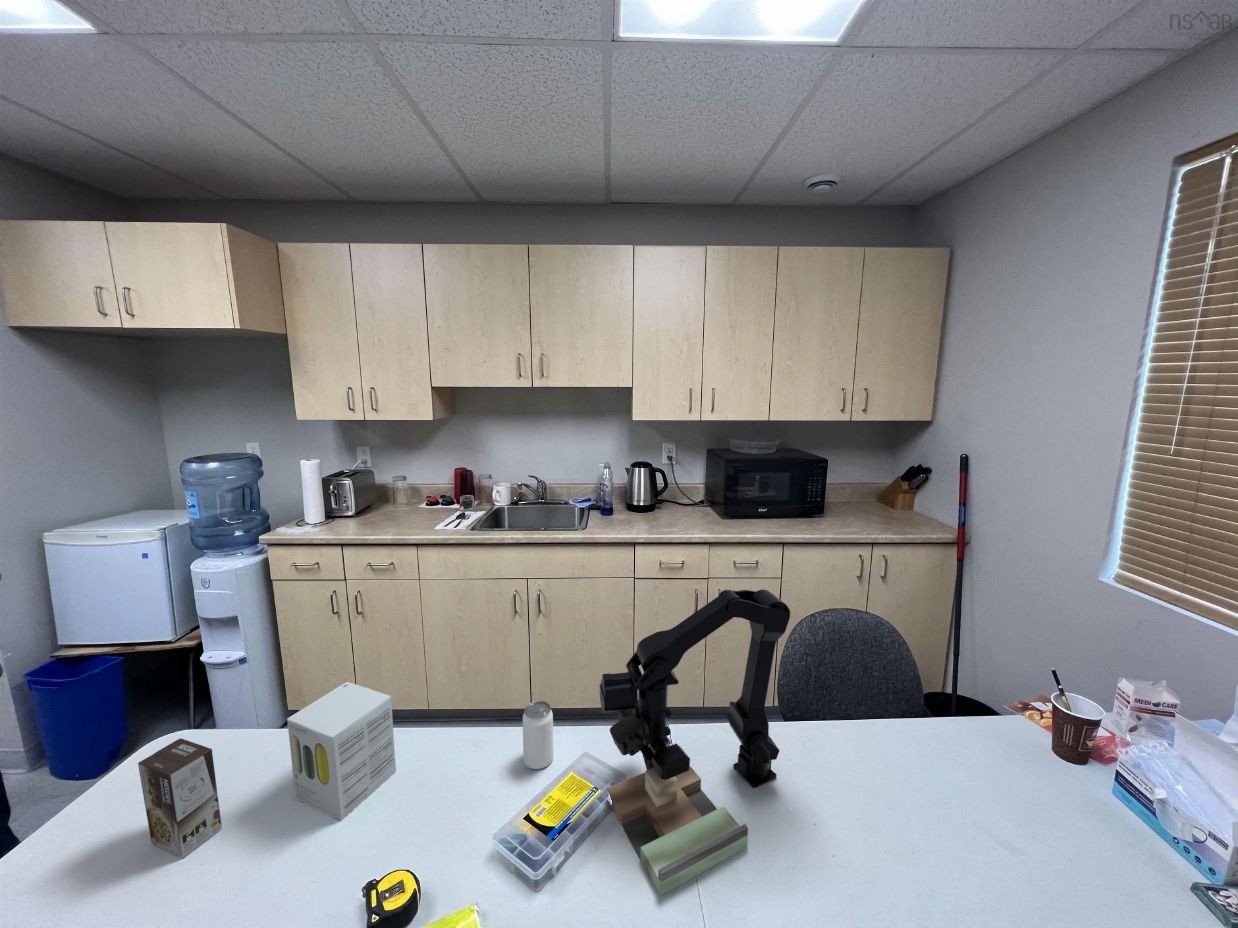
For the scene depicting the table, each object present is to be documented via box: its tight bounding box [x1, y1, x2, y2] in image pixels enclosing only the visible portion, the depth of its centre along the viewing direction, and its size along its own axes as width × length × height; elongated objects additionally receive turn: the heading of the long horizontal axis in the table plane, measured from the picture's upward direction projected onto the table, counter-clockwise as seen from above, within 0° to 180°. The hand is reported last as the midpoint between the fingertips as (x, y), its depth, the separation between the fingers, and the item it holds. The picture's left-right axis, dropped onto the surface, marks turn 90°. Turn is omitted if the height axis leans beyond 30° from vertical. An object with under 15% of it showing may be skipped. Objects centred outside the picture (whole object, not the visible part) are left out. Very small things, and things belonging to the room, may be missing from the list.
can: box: [522, 700, 554, 770], centre depth 101 cm, size 6×6×12 cm
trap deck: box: [606, 765, 749, 896], centre depth 86 cm, size 20×18×4 cm
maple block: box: [644, 767, 677, 807], centre depth 90 cm, size 4×4×4 cm
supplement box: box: [286, 681, 397, 821], centre depth 93 cm, size 13×13×18 cm
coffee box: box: [137, 737, 223, 859], centre depth 82 cm, size 9×6×16 cm
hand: (650, 773), depth 93 cm, fingers closed
